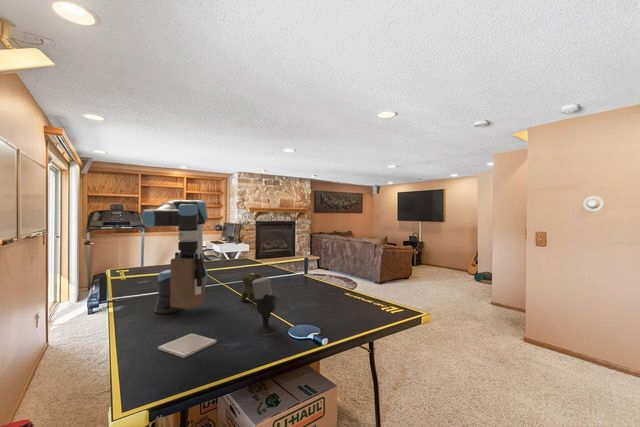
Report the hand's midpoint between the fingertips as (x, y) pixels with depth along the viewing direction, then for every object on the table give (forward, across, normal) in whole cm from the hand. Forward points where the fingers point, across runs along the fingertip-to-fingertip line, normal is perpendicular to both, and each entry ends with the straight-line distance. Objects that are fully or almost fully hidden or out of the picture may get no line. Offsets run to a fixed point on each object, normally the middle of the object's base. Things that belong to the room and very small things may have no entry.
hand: (188, 292), depth 125 cm
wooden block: (+5, 0, 0) cm, 5 cm away
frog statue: (+22, -24, +67) cm, 75 cm away
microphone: (+23, +18, +29) cm, 41 cm away
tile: (+22, 0, 0) cm, 22 cm away
